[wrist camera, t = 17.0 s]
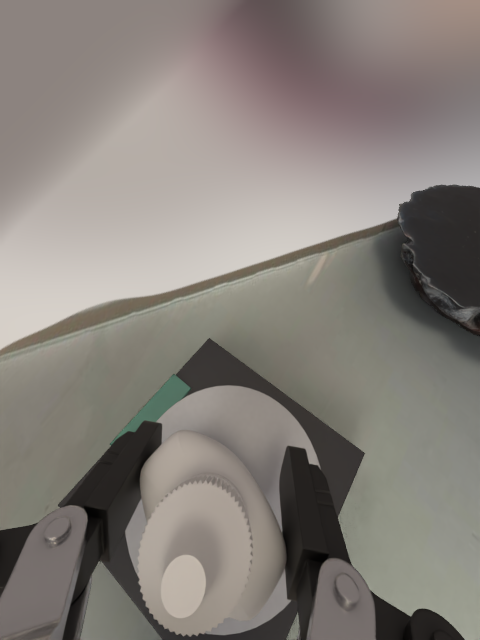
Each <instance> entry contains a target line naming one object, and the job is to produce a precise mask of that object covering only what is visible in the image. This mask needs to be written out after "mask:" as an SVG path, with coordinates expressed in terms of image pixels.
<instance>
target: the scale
mask: <svg viewBox="0 0 480 640" xmlns="http://www.w3.org/2000/svg"><path fill="white" fill-rule="evenodd" d="M144 420H147V421H152V422H158V423H162V443H163V442H164V441H165V440H167V439H168V438H169V437H170V436H171V435H172V434H174V433H176V432H177V431H179V430H191V431H194V432H197V433H200V434H202V435H205V436H207V437H210V438H212V439H214V440H216V441H218V442H219V443H221V444H223V445H224V446H225V447H227V448H228V449H229V450H230V451H232V452H233V453H234V454H235V455H236V456H237V457H238V458H239V459H240V460H241V462H242V463H243V464H244V465H245V467H246V468H247V469H248V471H249V472H250V474H251V475H252V477H253V478H254V480H255V481H256V483H257V484H258V486H259V487H260V489H261V490H262V492H263V494H264V495H265V497H266V499H267V501H268V502H269V504H270V506H271V508H272V510H273V512H274V515H275V517H276V519H277V521H278V524H279V527H280V529H281V532H282V521H281V507H280V494H279V478H280V472H281V467H282V463H283V459H284V455H285V451H286V447H287V446H294V447H299V448H305V449H306V452H307V456H308V461H309V464H314V465H318V466H319V468H320V469H321V471H322V472H323V474H324V475H325V477H326V479H327V482H328V486H329V489H330V495H331V496H332V500H333V503H334V507H335V510H336V514H337V517H338V515H339V513H340V511H341V508H342V506H343V504H344V501H345V499H346V496H347V494H348V492H349V489H350V487H351V485H352V482H353V480H354V478H355V475H356V473H357V471H358V468H359V466H360V463H361V461H362V459H363V456H364V454H365V453H364V452H363V451H361V450H360V449H359V448H357V447H356V446H354V445H353V444H352V443H350V442H349V441H348V440H346V439H345V438H344V437H342V436H341V435H340V434H338V433H337V432H336V431H334V430H333V429H331V428H330V427H329V426H327V425H326V424H325V423H323V422H322V421H321V420H319V419H318V418H317V417H315V416H314V415H313V414H311V413H310V412H308V411H307V410H306V409H304V408H303V407H302V406H300V405H299V404H298V403H296V402H295V401H294V400H292V399H291V398H290V397H288V396H287V395H285V394H284V393H283V392H281V391H280V390H279V389H277V388H276V387H275V386H273V385H272V384H271V383H269V382H268V381H267V380H265V379H264V378H263V377H261V376H260V375H258V374H257V373H256V372H254V371H253V370H252V369H250V368H249V367H248V366H246V365H245V364H244V363H242V362H241V361H240V360H238V359H237V358H235V357H234V356H233V355H231V354H230V353H229V352H227V351H226V350H225V349H223V348H222V347H221V346H219V345H218V344H217V343H215V342H214V341H212V340H211V339H210V338H209V339H208V340H207V341H206V342H205V343H204V344H203V345H202V347H201V348H200V349H199V350H198V351H197V352H196V353H195V354H194V355H193V357H192V358H191V359H190V360H189V361H188V362H187V363H186V364H185V365H184V366H183V368H182V369H181V370H180V371H179V372H178V373H177V374H176V375H175V374H173V375H172V376H171V378H170V379H169V380H168V381H167V382H166V383H165V384H164V385H163V386H162V387H161V388H160V390H159V391H158V392H157V393H156V394H155V395H154V396H153V397H152V398H151V399H150V401H149V402H148V403H147V404H146V405H145V406H144V407H143V408H142V409H141V410H140V411H139V413H138V414H137V415H136V416H135V417H134V418H133V419H132V420H131V421H130V422H129V424H128V425H127V426H126V427H125V428H124V429H123V430H122V431H121V432H120V433H119V435H118V436H117V437H116V438H115V439H114V440H113V441H112V442H111V443H110V445H112V444H113V443H114V442H115V440H116V439H118V438H119V437H120V436H122V435H123V434H125V433H126V432H127V431H131V432H136V430H137V429H138V427H139V426H140V425H141V423H142V422H143V421H144ZM107 451H108V450H107ZM107 451H106V453H107ZM103 456H104V455H103ZM103 456H102V457H103ZM102 457H101V458H102ZM101 458H100V459H101ZM100 459H99V460H98V461H97V462H96V464H95V465H94V466H93V467H92V468H91V469H90V470H89V471H88V472H87V473H86V475H85V476H84V477H83V478H82V479H81V480H80V481H79V482H78V483H77V484H76V486H75V487H74V488H73V489H72V490H71V491H70V492H69V493H68V494H67V496H66V497H65V498H64V499H63V500H62V501H61V502H60V503H59V504H58V506H59V507H60V508H62V507H63V506H64V505H65V504H66V503H67V502H68V500H69V499H70V498H71V497H72V495H73V494H74V493H75V491H76V490H77V489H78V488H79V486H80V485H81V484H82V483H83V481H84V480H85V479H86V477H87V476H88V475H89V474H90V472H91V471H92V470H93V468H94V467H95V466H96V465H97V463H99V462H100ZM146 525H147V520H146V516H145V513H144V508H143V503H142V498H141V500H140V502H139V504H138V506H137V508H136V510H135V512H134V514H133V516H132V518H131V520H130V522H129V524H128V526H127V528H126V530H125V532H124V534H123V536H122V538H121V540H120V542H119V544H118V546H117V548H116V550H115V552H114V554H113V557H112V559H111V561H110V563H109V562H104V561H102V562H103V564H104V565H105V566H106V567H107V569H108V570H109V571H110V573H111V574H112V575H113V576H114V578H115V579H116V580H117V582H118V583H119V584H120V585H121V587H122V588H123V589H124V590H125V592H126V593H127V594H128V596H129V597H130V598H131V599H132V601H133V602H134V603H135V605H136V606H137V607H138V608H139V610H140V611H141V612H142V614H143V615H144V616H145V617H146V619H147V620H148V621H149V623H150V624H151V625H152V626H153V628H154V629H155V630H156V631H157V633H158V634H159V635H160V637H161V638H162V639H163V640H286V638H287V635H288V633H289V631H290V628H291V626H292V624H293V621H294V619H295V617H296V614H297V612H298V605H297V601H292V600H288V599H287V590H286V577H285V569H284V572H283V574H282V576H281V578H280V580H279V582H278V584H277V585H276V587H275V589H274V591H273V592H272V594H271V596H270V597H269V599H268V600H267V602H266V604H265V605H264V606H263V608H262V609H261V611H260V612H259V613H258V614H257V615H256V616H255V617H254V618H252V619H251V620H247V621H239V620H236V619H233V618H230V617H229V618H224V621H223V623H218V626H217V628H212V629H211V632H210V631H206V632H205V633H204V634H201V633H199V634H198V636H196V635H194V634H193V635H192V636H191V637H190V636H188V635H187V634H186V635H185V636H182V634H181V633H180V634H178V635H176V633H175V632H174V631H173V632H170V631H169V629H168V628H167V629H164V627H163V625H161V624H159V623H158V620H156V619H154V617H153V614H151V613H149V608H148V607H146V601H145V600H143V594H142V593H141V592H140V589H141V586H140V585H139V583H138V582H139V580H140V578H139V577H138V575H137V574H138V572H139V570H138V568H137V565H138V564H139V561H138V559H137V558H138V556H139V555H140V554H139V551H138V549H139V548H140V547H141V545H140V541H141V540H142V533H143V532H144V531H145V526H146Z"/></svg>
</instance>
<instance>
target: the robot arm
mask: <svg viewBox="0 0 480 640" xmlns="http://www.w3.org/2000/svg"><path fill="white" fill-rule="evenodd" d="M161 444H162V423H158V422H152V421H147V420H144V421H143V422H142V423H141V425H140V426H139V427H138V429H137V430H136V432H131V431H127V432H126V433H125V434H123V435H122V436H120V437H119V438H118V439H116V440H115V442H114V443H113V444H112V445H111V447H110V448H109V449H108V451H107V453H105V454H104V456H103V457H102V458H101V459H100V462H99V463H97V465H96V466H95V467H94V468H93V470H92V471H91V472H90V474H89V475H88V476H87V477H86V479H85V480H84V481H83V483H82V484H81V485H80V486H79V488H78V489H77V490H76V491H75V493H74V494H73V495H72V497H71V498H70V499H69V500H68V502H67V503H66V504H65V505H64V506H63V507H62V508H59V509H57V510H55V511H53V512H51V513H50V514H48V515H47V516H45V517H44V518H43V519H42V520H41V521H40V522H39V523H36V524H33V525H29V526H24V527H18V528H12V529H6V530H0V640H80V637H81V632H82V627H83V623H84V618H85V613H86V608H87V603H88V599H89V594H90V589H91V584H92V573H93V571H94V569H95V567H96V565H97V563H98V562H99V561H104V562H109V563H110V561H111V559H112V557H113V554H114V552H115V550H116V548H117V546H118V544H119V542H120V540H121V538H122V536H123V534H124V532H125V530H126V528H127V526H128V524H129V522H130V520H131V518H132V516H133V514H134V512H135V510H136V508H137V506H138V504H139V502H140V500H141V491H140V474H141V469H142V467H143V465H144V463H145V462H146V460H147V459H148V458H149V457H150V456H151V455H152V454H153V453H154V452H155V451H156V450H157V448H158V447H159V446H160V445H161ZM279 494H280V507H281V521H282V535H283V538H284V541H285V545H286V552H287V561H286V565H285V577H286V590H287V599H288V600H292V601H297V605H298V615H299V625H300V627H299V631H298V637H297V640H464V638H463V637H462V636H461V634H460V633H459V632H458V631H457V630H456V629H455V628H454V627H453V626H452V625H451V624H450V623H449V622H448V621H447V620H445V619H444V618H443V617H442V616H440V615H438V614H437V613H435V612H433V611H431V610H428V609H418V610H416V611H415V612H414V613H413V615H412V616H411V617H410V616H409V615H407V614H405V613H404V612H402V611H400V610H399V609H397V608H396V607H394V606H392V605H391V604H389V603H387V602H386V601H384V600H382V599H381V598H379V597H378V596H377V595H375V594H374V593H373V592H372V591H371V590H370V589H369V587H368V585H367V583H366V582H365V580H364V579H363V577H362V576H361V574H360V573H359V572H358V571H357V570H356V569H355V568H354V567H353V566H352V564H351V562H350V559H349V556H348V552H347V549H346V545H345V542H344V538H343V535H342V531H341V528H340V524H339V521H338V517H337V514H336V510H335V507H334V503H333V500H332V496H331V495H330V489H329V486H328V482H327V479H326V477H325V475H324V474H323V472H322V471H321V469H320V468H319V466H318V465H314V464H309V461H308V456H307V452H306V449H305V448H299V447H294V446H287V447H286V451H285V455H284V459H283V463H282V467H281V472H280V478H279Z"/></svg>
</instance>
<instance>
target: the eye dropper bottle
mask: <svg viewBox="0 0 480 640" xmlns="http://www.w3.org/2000/svg"><path fill="white" fill-rule="evenodd" d="M140 491H141V498H142V503H143V508H144V513H145V516H146V520H147V525H146V526H145V531H144V532H143V533H142V540H141V541H140V545H141V547H140V548H139V549H138V551H139V554H140V555H139V556H138V558H137V559H138V561H139V564H138V565H137V568H138V570H139V572H138V574H137V575H138V577H139V578H140V580H139V582H138V583H139V585H140V586H141V589H140V592H141V593H142V594H143V600H145V601H146V607H148V608H149V613H151V614H153V617H154V619H156V620H158V623H159V624H161V625H163V627H164V629H167V628H168V629H169V631H170V632H173V631H174V632H175V633H176V635H178V634H180V633H181V634H182V636H185V635H186V634H187V635H188V636H190V637H191V636H192V635H193V634H194V635H196V636H198V634H199V633H201V634H204V633H205V632H206V631H210V632H211V629H212V628H217V626H218V623H223V621H224V618H229V617H230V618H233V619H236V620H239V621H247V620H251V619H252V618H254V617H255V616H256V615H257V614H258V613H259V612H260V611H261V609H262V608H263V606H264V605H265V604H266V602H267V600H268V599H269V597H270V596H271V594H272V592H273V591H274V589H275V587H276V585H277V584H278V582H279V580H280V578H281V576H282V574H283V572H284V569H285V565H286V561H287V552H286V545H285V541H284V538H283V535H282V532H281V529H280V527H279V524H278V521H277V519H276V517H275V515H274V512H273V510H272V508H271V506H270V504H269V502H268V501H267V499H266V497H265V495H264V494H263V492H262V490H261V489H260V487H259V486H258V484H257V483H256V481H255V480H254V478H253V477H252V475H251V474H250V472H249V471H248V469H247V468H246V467H245V465H244V464H243V463H242V462H241V460H240V459H239V458H238V457H237V456H236V455H235V454H234V453H233V452H232V451H230V450H229V449H228V448H227V447H225V446H224V445H223V444H221V443H219V442H218V441H216V440H214V439H212V438H210V437H207V436H205V435H202V434H200V433H197V432H194V431H191V430H179V431H177V432H176V433H174V434H172V435H171V436H170V437H169V438H168V439H167V440H165V441H164V442H163V443H162V444H161V445H160V446H159V447H158V448H157V450H156V451H155V452H154V453H153V454H152V455H151V456H150V457H149V458H148V459H147V460H146V462H145V463H144V465H143V467H142V469H141V474H140Z"/></svg>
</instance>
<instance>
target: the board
mask: <svg viewBox="0 0 480 640" xmlns="http://www.w3.org/2000/svg"><path fill="white" fill-rule="evenodd" d="M399 206H400V207H399V213H398V218H397V220H398V224H399V226H400V228H401V229H402V230H403V233H404V235H405V236H406V237H408V238H409V240H408V241H407V243H406V244H405V243H403V245H402V252H401V258H402V259H403V261H404V263H405V264H406V266H407V267H408V268H409V270H410V271H411V272H410V279H411V283H412V284H413V286H414V288H415V290H416V291H419V293H420V297H421V298H422V299H424V300H425V301H426V302H427V303H428V304H430V305H431V306H433V307H434V309H436V310H437V312H439V313H440V314H441V315H442V316H444V317H445V318H447V319H450V320H452V321H453V322H456V324H459V325H460V326H461V327H463V328H464V329H466V330H467V331H468V332H470V333H473V334H475V335H479V336H480V188H477V187H473V186H459V185H449V186H446V185H436V186H433V187H429V188H428V189H425V190H423V191H416V192H413V193H412V194H411V199H410V201H409V202H404V203H403V204H399Z"/></svg>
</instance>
